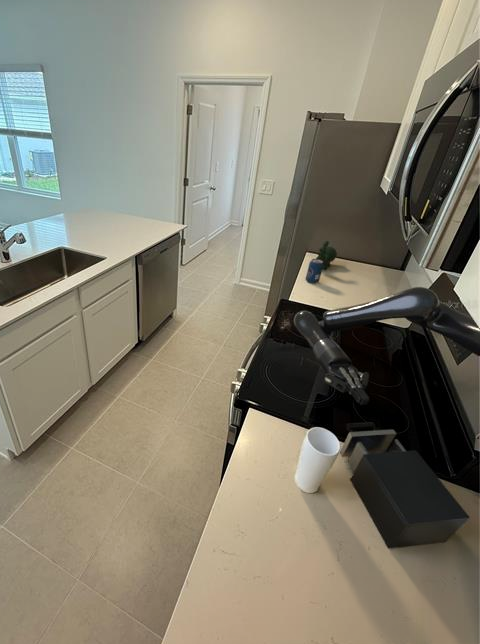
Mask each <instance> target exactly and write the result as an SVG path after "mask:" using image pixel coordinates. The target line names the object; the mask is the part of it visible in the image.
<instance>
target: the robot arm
mask: <svg viewBox="0 0 480 644" xmlns="http://www.w3.org/2000/svg"><path fill="white" fill-rule="evenodd" d="M471 317H472V316H470V315H468V314H465V313H462V312H461V311H458V310H456V309H454V308H453V307H451V306H449V305H447V304H445V303H444V302H442V301H440V300H439V297H438V295H437V294H436V293H435V292H434V291H433V289H430V288H428V287H423V286H415V287H411V288H407V289H404V290H401V291H399V292H396V293H394V294H391V295H388V296H384V297H382V298H378V299H375V300H371V301H367V302H363V303H359V304H355V305H350V306H344V307H340V308H335V309H330V310H326V311H324V313H323V314H322V320H321V321H318V319H317V318H316V316H315V315H314V314H313V312H311V311H309V310H300V311H298V312H296V313H295V316H294V317H293V325H294V327H295V328H296V330H297V331H298V334H300V336H301V337H302V338H303V339H304V340H305V342H306V344H307V345H308V347H309V349H310V350H311V351H312V353H313V355H314V357H315V359H316V360H317V362H318V363H319V365H320V366H321V368H322V369H323V371H324V372H325V375H324V378H323V382H324V383H325V384H327V385H328V386H331V387H332V388H334V389H336V390H337V391H339V392H340V393H343V394H346V393H348V394H349V395H351V396H352V397H353V399H354V400H355V402H356V403H357V404H359V405H360V406H367V405H368V403H369V402H370V397H369V395H368V394H367V392H366V388H367V387H368V384H369V377H370V373H369V372H367V371H364V372H360V371H358V368H356V367H355V366H354V365H353V364H352V363H353V362H352V360H351V359H350V358H349V356H348V355H347V354H346V353H345V351H344V350H343V349H342V348H341V347H340V345H339V344H338V343H337V342H336V341H335V340H333V338H332V337H331V336H330V334H331V333H334V332H340V331H345V330H346V331H347V330H351V329H356V328H361V327H363V326H367V325H369V324H372V323H375V322H379V321H385V320H392V319H393V320H394V319H405V320H407V321H408V322H410V323H412V324H414V325H418V326H420V327H423V328H425V329H428V330H430V331H432V332H434V333H437V334H439V335H441V336H443V337H445V338H447V339H449V340H451V341H453V342H454V343H456V344H458V345H459V346H461V347H462V348H464V349H465V350H467V351H468V352H470V353H472V354H474V355H475V356H477V357H479V356H480V328H478V326H477V325H476V323H475V322H474V320H473V319H472V318H471Z"/></svg>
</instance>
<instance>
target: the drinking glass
mask: <svg viewBox="0 0 480 644" xmlns="http://www.w3.org/2000/svg"><path fill="white" fill-rule="evenodd" d="M340 451H341V443H340V441H339V439H338V437H337V436H336V435H335V434H334V433H333V432H332V431H330V430H328V429H326V428H324V427H319V426H316V427H315V426H314V427H311V428H310V429H308V430H307V432H306V434H305V436H304V439H303V441H302V444H301V448H300V453H299V456H298V457H299V458H298V461H297V466H296V471H295V473H294V481H295V484H296V486H297V487H298V489H300V491H303V492H304V493H307V494H313V493H315V492H317V491H318V490H319V488H320V486H321V484H322V482H323V481H324V479H325V478H326V476H327V475H328V473H329V472H330V471H331V469H332V468H333V466H334V464H335V462H336V461H337V458H338V456H339V454H340Z"/></svg>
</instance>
